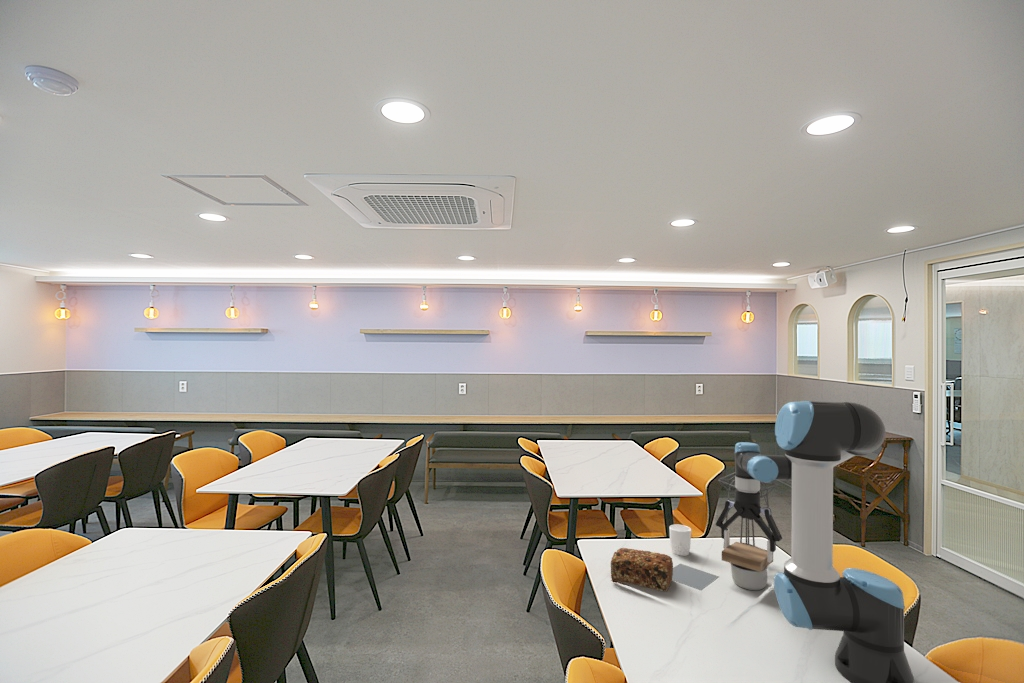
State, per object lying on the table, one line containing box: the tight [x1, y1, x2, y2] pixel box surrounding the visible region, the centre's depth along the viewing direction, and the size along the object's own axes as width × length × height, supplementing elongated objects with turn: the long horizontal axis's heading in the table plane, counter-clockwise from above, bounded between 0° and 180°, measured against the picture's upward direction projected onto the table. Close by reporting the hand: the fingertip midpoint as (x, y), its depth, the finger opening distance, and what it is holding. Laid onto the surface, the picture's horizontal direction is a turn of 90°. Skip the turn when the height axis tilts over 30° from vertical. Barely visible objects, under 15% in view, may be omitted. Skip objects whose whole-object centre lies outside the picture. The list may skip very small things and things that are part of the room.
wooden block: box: [721, 541, 774, 572], centre depth 162 cm, size 12×12×3 cm
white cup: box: [668, 523, 692, 557], centre depth 186 cm, size 8×8×10 cm
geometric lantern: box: [718, 471, 780, 549], centre depth 178 cm, size 16×16×35 cm
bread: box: [610, 547, 674, 592], centre depth 163 cm, size 19×11×10 cm, turn 61°
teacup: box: [730, 563, 768, 591], centre depth 162 cm, size 14×11×8 cm
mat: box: [672, 563, 720, 591], centre depth 165 cm, size 14×14×1 cm
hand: (747, 555), depth 162 cm, fingers open, 13 cm apart
